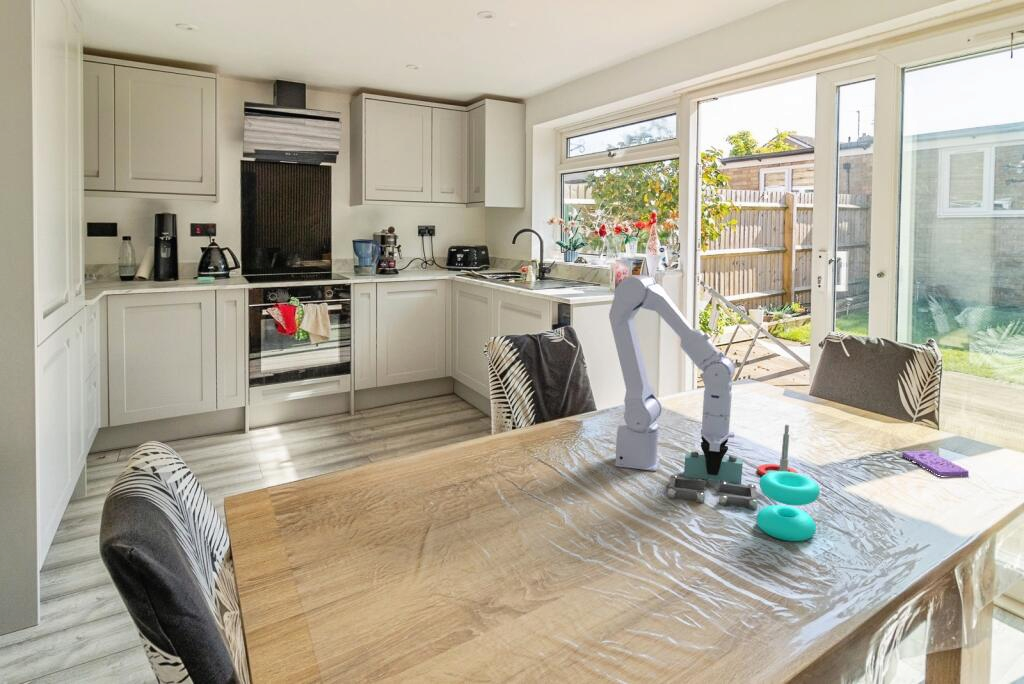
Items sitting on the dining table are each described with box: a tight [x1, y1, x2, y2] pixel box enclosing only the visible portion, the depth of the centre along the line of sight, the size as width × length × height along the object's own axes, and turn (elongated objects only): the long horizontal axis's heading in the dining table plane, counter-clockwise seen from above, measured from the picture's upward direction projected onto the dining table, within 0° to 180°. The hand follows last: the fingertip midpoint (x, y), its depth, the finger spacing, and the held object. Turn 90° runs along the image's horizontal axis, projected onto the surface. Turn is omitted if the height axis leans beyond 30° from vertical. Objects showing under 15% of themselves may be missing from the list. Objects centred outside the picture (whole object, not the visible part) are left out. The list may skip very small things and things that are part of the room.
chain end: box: [667, 474, 706, 504], centre depth 129 cm, size 7×9×2 cm
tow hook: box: [756, 424, 799, 477], centre depth 137 cm, size 8×13×9 cm
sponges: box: [901, 449, 969, 477], centre depth 143 cm, size 7×13×2 cm, turn 3°
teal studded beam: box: [683, 450, 744, 484], centre depth 136 cm, size 12×3×5 cm, turn 72°
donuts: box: [756, 470, 820, 542], centre depth 112 cm, size 10×10×10 cm
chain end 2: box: [718, 481, 759, 511], centre depth 126 cm, size 7×9×2 cm
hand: (712, 471), depth 137 cm, fingers closed on teal studded beam, 3 cm apart
